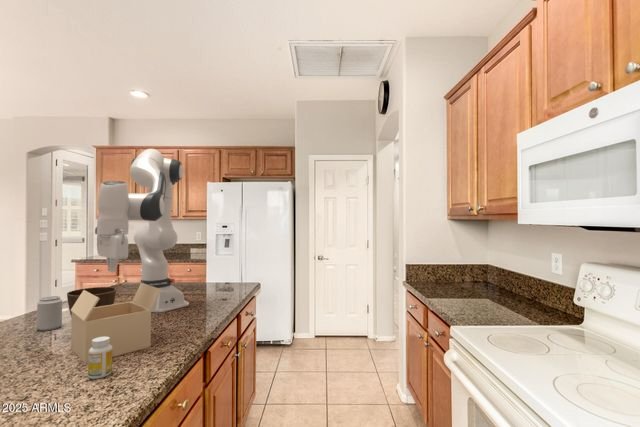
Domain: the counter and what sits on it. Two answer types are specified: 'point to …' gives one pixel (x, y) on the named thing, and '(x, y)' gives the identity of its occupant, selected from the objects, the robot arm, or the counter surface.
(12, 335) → the counter surface
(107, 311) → the carton
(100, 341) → the supplement bottle
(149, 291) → the flap
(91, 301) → the flap
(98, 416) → the counter surface
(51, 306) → the can
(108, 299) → the plant pot
